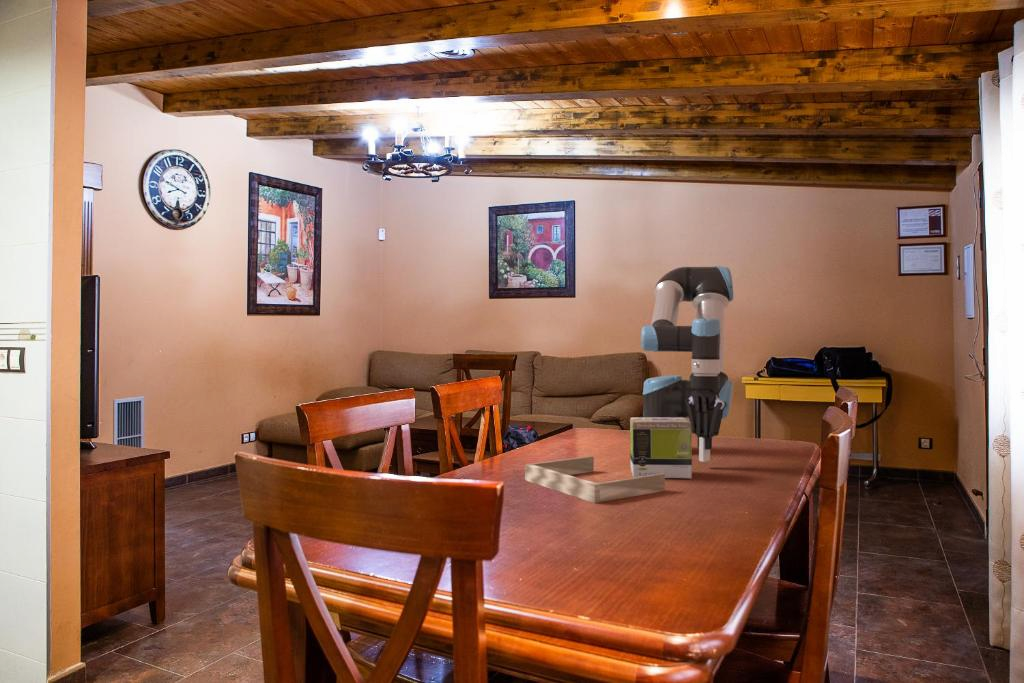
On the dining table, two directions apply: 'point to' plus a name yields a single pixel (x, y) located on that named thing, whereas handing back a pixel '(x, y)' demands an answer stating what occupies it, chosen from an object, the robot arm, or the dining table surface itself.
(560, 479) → the corral
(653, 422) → the tea box
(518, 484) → the dining table surface
